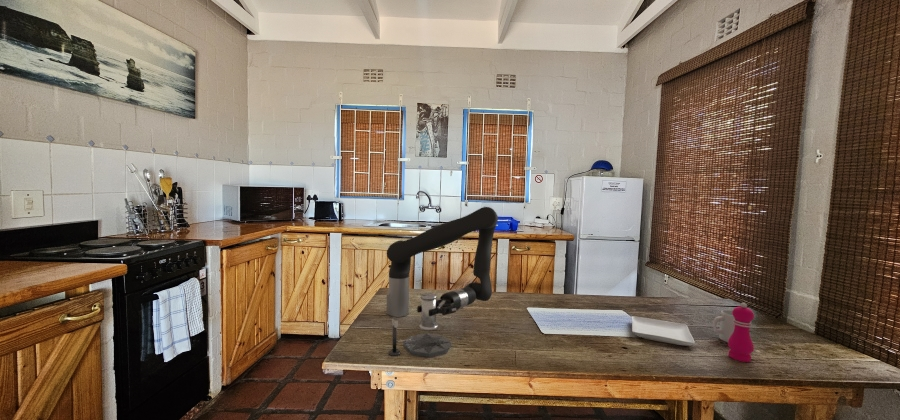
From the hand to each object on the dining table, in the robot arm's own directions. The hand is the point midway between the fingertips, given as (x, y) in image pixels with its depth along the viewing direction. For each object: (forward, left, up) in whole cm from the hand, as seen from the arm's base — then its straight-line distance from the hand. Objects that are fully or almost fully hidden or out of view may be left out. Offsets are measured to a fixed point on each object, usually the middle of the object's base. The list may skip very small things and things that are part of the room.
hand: (423, 311), depth 130 cm
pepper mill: (+109, +30, -14) cm, 114 cm away
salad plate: (+87, +44, -14) cm, 99 cm away
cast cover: (+1, +2, -6) cm, 7 cm away
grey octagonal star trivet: (+1, +2, -14) cm, 14 cm away
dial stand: (-7, -5, -14) cm, 16 cm away
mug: (+112, +47, -14) cm, 122 cm away
